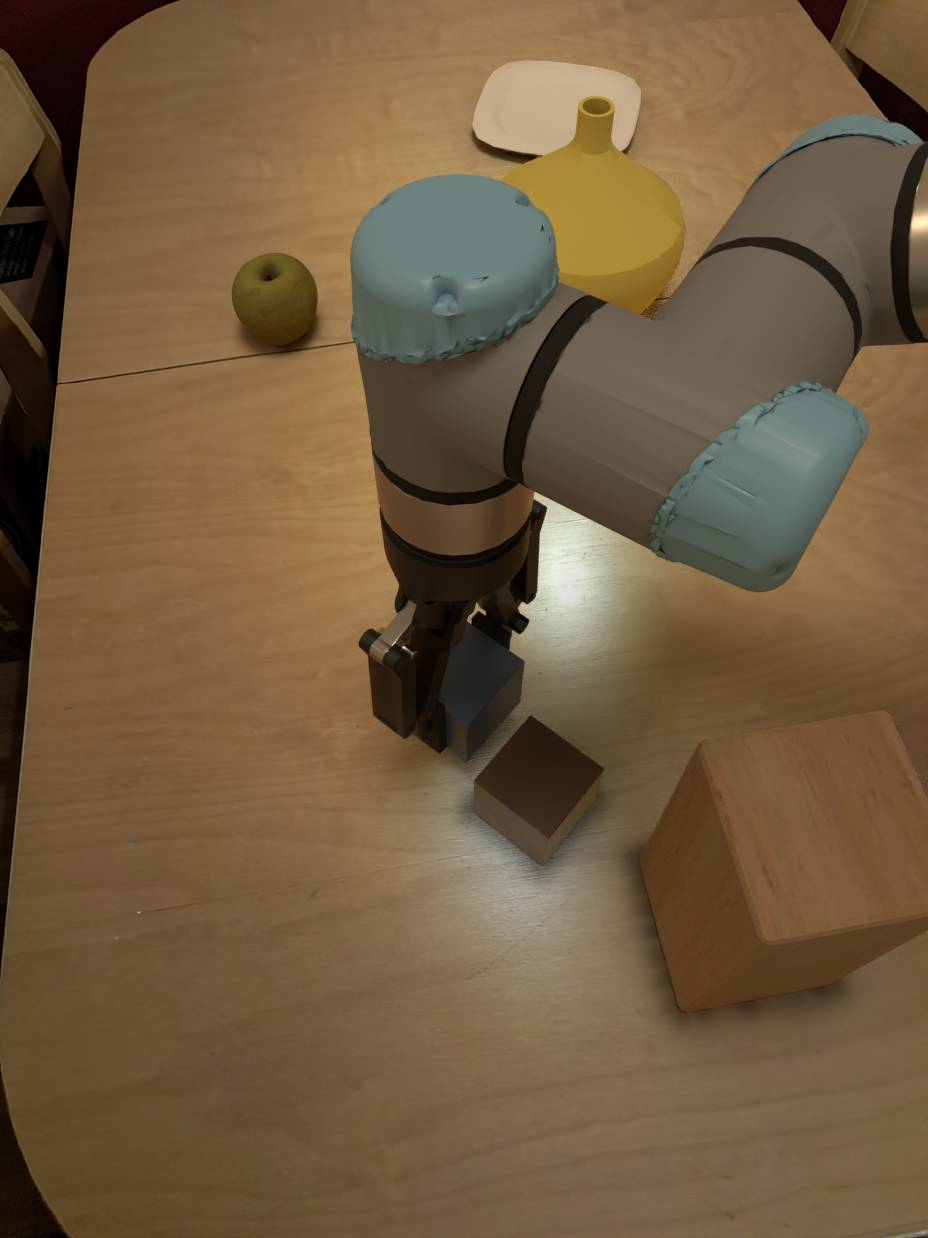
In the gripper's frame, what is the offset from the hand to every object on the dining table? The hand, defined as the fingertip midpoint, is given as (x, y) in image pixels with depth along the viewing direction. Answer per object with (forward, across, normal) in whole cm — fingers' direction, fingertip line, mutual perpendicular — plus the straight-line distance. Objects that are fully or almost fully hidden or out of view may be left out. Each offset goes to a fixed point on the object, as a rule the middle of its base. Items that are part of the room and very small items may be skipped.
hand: (459, 704), depth 66 cm
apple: (+4, -21, -39) cm, 44 cm away
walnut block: (+3, +2, +8) cm, 9 cm away
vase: (+3, -42, -20) cm, 47 cm away
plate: (+3, -65, -39) cm, 76 cm away
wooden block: (+3, 0, +22) cm, 23 cm away
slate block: (0, 0, 0) cm, 0 cm away
